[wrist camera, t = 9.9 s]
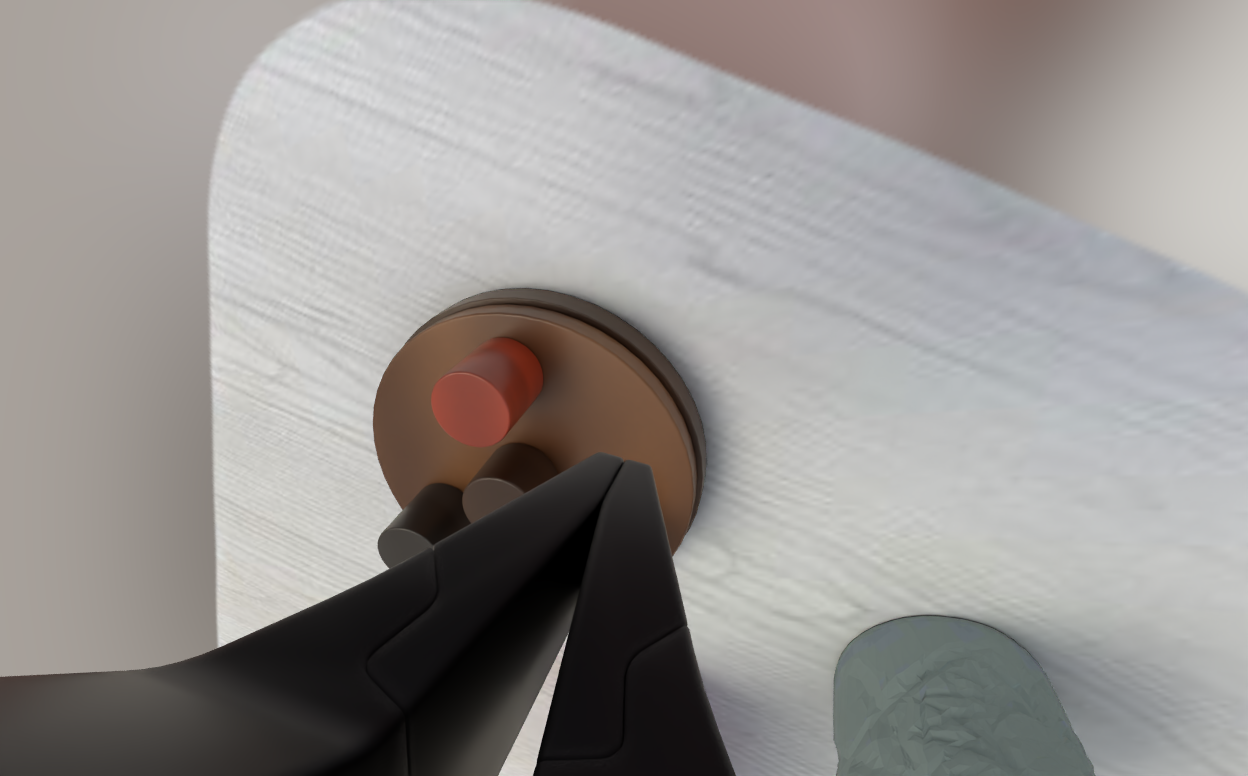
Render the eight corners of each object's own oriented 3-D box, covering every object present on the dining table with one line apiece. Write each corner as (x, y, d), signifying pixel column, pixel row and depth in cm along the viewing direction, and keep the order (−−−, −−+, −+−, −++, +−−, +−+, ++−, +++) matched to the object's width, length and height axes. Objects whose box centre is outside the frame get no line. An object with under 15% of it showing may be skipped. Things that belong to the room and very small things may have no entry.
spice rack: (423, 564, 29) (373, 629, 26) (350, 299, 23) (273, 337, 20) (698, 605, 26) (683, 685, 22) (696, 308, 20) (676, 354, 16)
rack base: (347, 327, 26) (328, 337, 24) (653, 248, 21) (645, 257, 20) (472, 576, 31) (461, 593, 30) (740, 559, 26) (738, 579, 25)
